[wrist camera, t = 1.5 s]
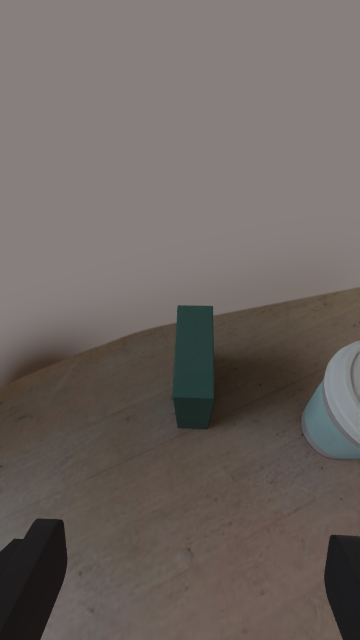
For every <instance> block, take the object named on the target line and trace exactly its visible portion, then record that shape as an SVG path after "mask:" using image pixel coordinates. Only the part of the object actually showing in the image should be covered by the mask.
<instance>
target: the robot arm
mask: <svg viewBox="0 0 360 640" xmlns="http://www.w3.org/2000/svg"><path fill="white" fill-rule="evenodd" d="M66 568H67V549H66V540H65V530H64V522H63V520H57V519H36V520H35V521H34V522H33V524H32V525H31V527H30V529H29V530H28V532H27V534H26V535H25V537H24V539H13V540H12V541H11V542H10V543H9V544H8V545H7V546H6V547H5V548H4V549H3V550H2V551H1V552H0V640H40V639H41V637H42V634H43V632H44V629H45V627H46V624H47V622H48V619H49V617H50V614H51V612H52V609H53V607H54V604H55V602H56V599H57V597H58V594H59V591H60V589H61V586H62V584H63V581H64V577H65V573H66ZM324 580H325V588H326V593H327V597H328V601H329V604H330V606H331V609H332V612H333V614H334V617H335V620H336V622H337V625H338V628H339V630H340V633H341V636H342V638H343V640H360V537H359V536H345V535H331V536H330V540H329V546H328V553H327V560H326V566H325V574H324Z"/></svg>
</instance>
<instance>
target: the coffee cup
mask: <svg viewBox="0 0 360 640" xmlns="http://www.w3.org/2000/svg"><path fill="white" fill-rule="evenodd" d="M301 426H302V431H303V433H304V436H305V438H306V440H307V441H308V442H309V444H310V445H311V446H312V447H313V448H314V449H315V450H316V451H317V452H319V453H320V454H322V455H324V456H326V457H328V458H332V459H338V460H347V459H349V460H350V459H360V340H359V341H356V342H353V343H351V344H349V345H347V346H345V347H344V348H342V349H340V350H339V351H338V352H337V353H336V354H335V355H334V356H333V357H332V358H331V360H330V361H329V363H328V365H327V368H326V371H325V377H324V379H323V380H322V382H321V383H320V385H319V386H318V388H317V390H316V391H315V393H314V394H313V396H312V397H311V399H310V400H309V402H308V404H307V405H306V407H305V409H304V410H303V413H302V417H301Z"/></svg>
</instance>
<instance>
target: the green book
mask: <svg viewBox="0 0 360 640" xmlns="http://www.w3.org/2000/svg"><path fill="white" fill-rule="evenodd" d="M173 402H174V408H175V414H176V420H177V426H178V428H192V429H208V425H209V421H210V416H211V412H212V407H213V403H214V341H213V307H212V306H180V305H179V306H178V310H177V327H176V345H175V363H174V381H173Z"/></svg>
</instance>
